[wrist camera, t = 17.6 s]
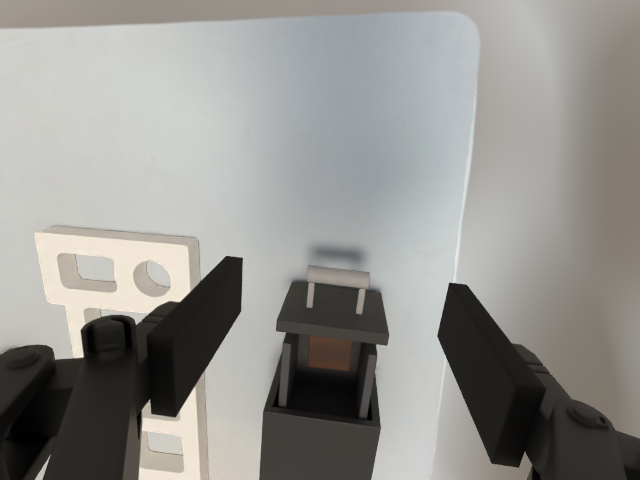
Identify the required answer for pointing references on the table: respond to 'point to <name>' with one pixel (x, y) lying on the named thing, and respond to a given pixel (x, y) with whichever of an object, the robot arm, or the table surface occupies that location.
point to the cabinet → (317, 442)
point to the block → (329, 353)
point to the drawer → (338, 323)
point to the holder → (133, 296)
